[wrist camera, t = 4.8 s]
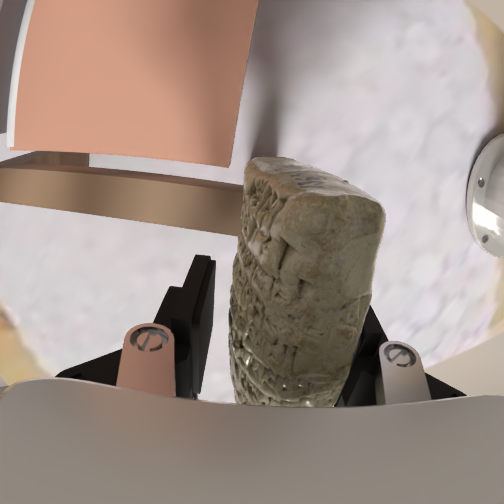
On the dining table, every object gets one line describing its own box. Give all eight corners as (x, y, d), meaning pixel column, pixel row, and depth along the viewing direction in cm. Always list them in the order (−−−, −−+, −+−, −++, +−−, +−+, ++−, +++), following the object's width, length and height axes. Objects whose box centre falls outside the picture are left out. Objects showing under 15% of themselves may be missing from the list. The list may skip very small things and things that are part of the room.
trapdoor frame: (316, -60, 15) (343, -132, 6) (271, 190, 24) (280, 243, 15) (113, -64, 14) (57, -115, 5) (69, 165, 23) (-14, 200, 14)
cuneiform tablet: (194, 395, 15) (180, 147, 10) (280, 389, 16) (309, 150, 11) (205, 521, 9) (153, 212, 4) (317, 506, 10) (444, 215, 5)
